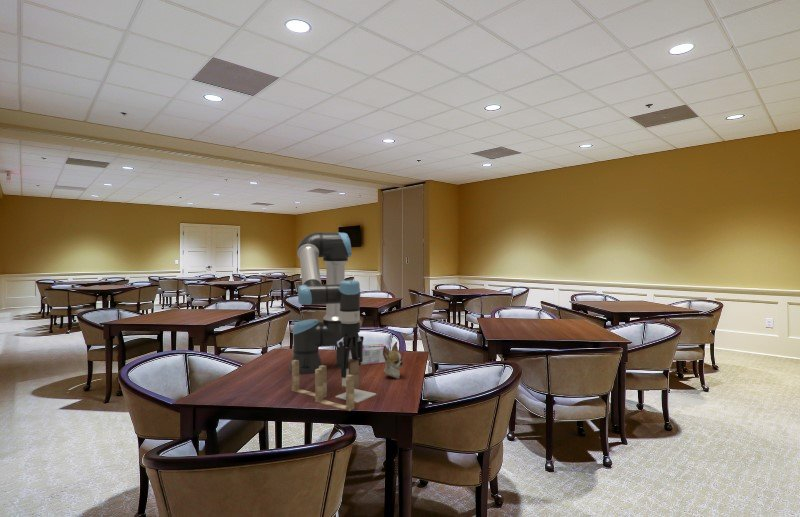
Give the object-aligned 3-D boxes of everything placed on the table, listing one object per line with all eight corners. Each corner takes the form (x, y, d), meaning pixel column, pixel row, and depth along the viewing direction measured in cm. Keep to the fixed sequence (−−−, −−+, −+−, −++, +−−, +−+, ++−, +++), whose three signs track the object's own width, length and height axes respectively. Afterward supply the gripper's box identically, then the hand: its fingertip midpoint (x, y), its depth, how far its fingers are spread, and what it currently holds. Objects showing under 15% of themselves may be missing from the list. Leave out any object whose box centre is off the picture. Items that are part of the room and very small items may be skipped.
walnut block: (341, 387, 158) (341, 361, 158) (349, 384, 162) (349, 358, 162) (350, 389, 156) (350, 362, 155) (358, 386, 159) (358, 360, 159)
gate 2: (314, 402, 155) (314, 369, 155) (319, 400, 157) (319, 368, 157) (350, 411, 146) (349, 376, 146) (354, 409, 148) (354, 375, 147)
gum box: (390, 362, 211) (385, 357, 224) (390, 348, 211) (385, 343, 224) (345, 365, 207) (343, 359, 219) (345, 350, 207) (343, 345, 219)
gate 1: (291, 391, 168) (291, 360, 168) (296, 389, 170) (296, 359, 170) (322, 399, 158) (322, 367, 158) (327, 397, 160) (326, 365, 160)
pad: (335, 397, 160) (335, 396, 160) (354, 390, 169) (354, 388, 169) (357, 403, 154) (357, 401, 154) (376, 395, 163) (376, 393, 163)
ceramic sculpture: (395, 382, 179) (395, 347, 179) (378, 379, 183) (378, 344, 183) (408, 376, 188) (408, 342, 188) (392, 373, 192) (392, 340, 192)
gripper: (341, 326, 149) (341, 392, 149) (372, 319, 164) (372, 380, 164) (325, 324, 153) (326, 388, 154) (357, 318, 168) (357, 376, 168)
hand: (350, 384), depth 159 cm, fingers closed on walnut block, 4 cm apart
